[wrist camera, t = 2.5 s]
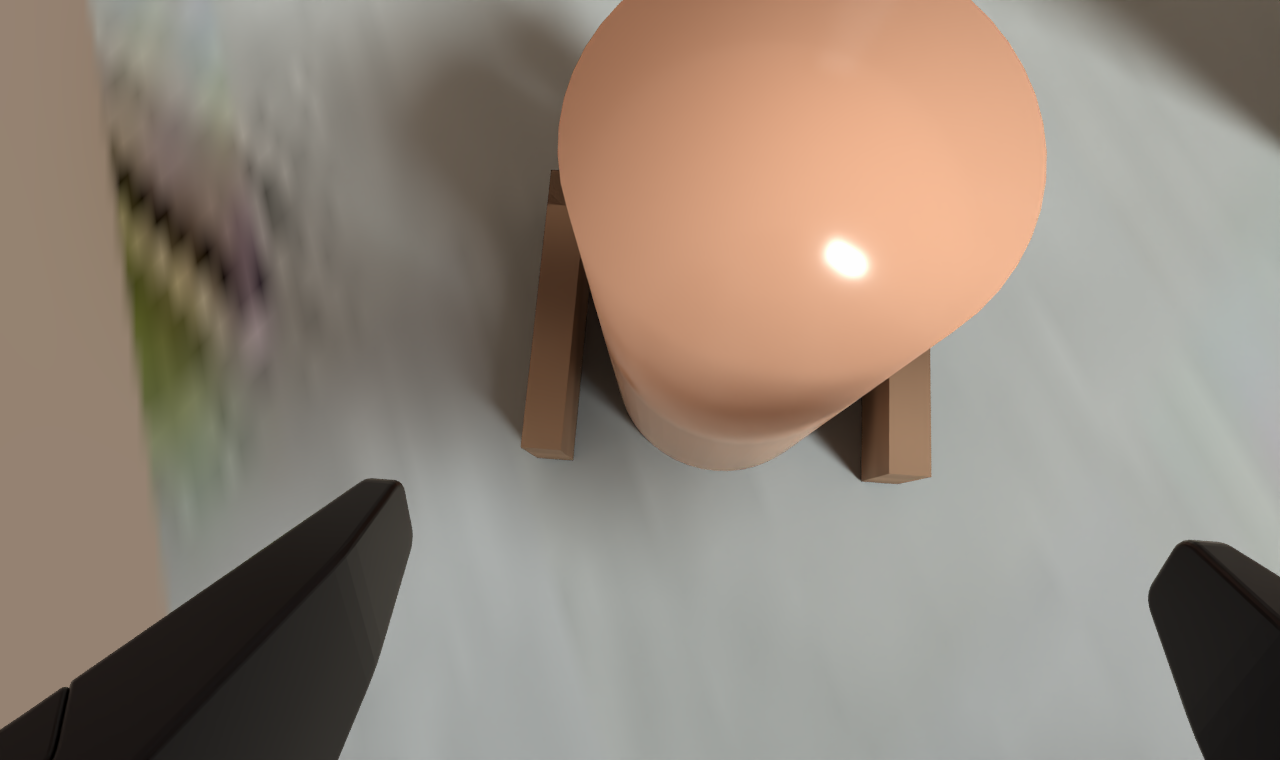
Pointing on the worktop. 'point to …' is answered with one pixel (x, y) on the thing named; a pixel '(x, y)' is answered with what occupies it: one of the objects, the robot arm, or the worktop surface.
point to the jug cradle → (553, 388)
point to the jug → (790, 203)
